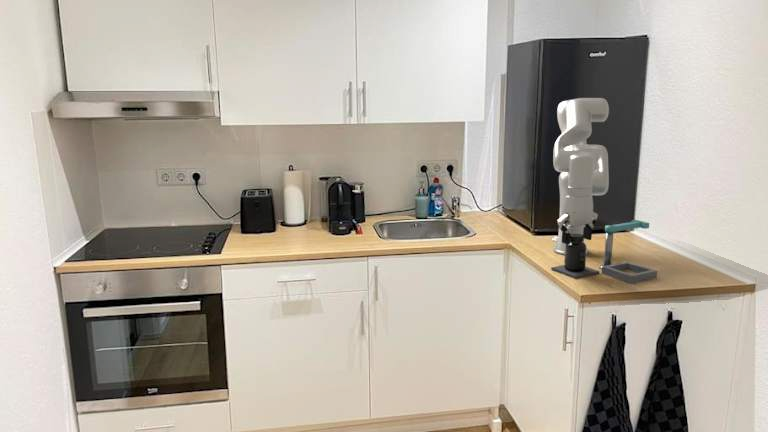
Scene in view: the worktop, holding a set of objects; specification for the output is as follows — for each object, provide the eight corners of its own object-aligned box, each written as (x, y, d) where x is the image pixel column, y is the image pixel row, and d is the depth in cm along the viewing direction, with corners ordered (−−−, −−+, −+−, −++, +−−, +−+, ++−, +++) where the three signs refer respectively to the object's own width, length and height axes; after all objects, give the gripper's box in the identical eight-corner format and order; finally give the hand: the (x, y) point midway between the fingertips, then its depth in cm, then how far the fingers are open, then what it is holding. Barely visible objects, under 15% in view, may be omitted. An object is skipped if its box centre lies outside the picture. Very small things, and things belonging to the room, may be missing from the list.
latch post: (596, 267, 196) (598, 231, 194) (606, 265, 199) (609, 229, 196) (607, 271, 192) (610, 234, 189) (618, 269, 194) (620, 233, 191)
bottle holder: (601, 273, 190) (602, 266, 189) (626, 268, 195) (627, 261, 195) (631, 283, 180) (632, 276, 179) (656, 277, 185) (657, 270, 184)
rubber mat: (551, 269, 195) (551, 267, 195) (574, 265, 200) (574, 262, 200) (575, 278, 185) (575, 276, 185) (599, 273, 190) (599, 271, 190)
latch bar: (613, 233, 189) (613, 228, 189) (599, 230, 194) (599, 225, 194) (648, 228, 196) (649, 223, 196) (634, 224, 202) (635, 219, 201)
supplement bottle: (580, 265, 196) (582, 232, 193) (588, 272, 189) (591, 237, 187) (560, 266, 196) (562, 232, 193) (568, 272, 189) (570, 237, 186)
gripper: (590, 187, 194) (586, 234, 198) (551, 192, 186) (549, 242, 191) (607, 190, 187) (603, 240, 192) (568, 196, 180) (565, 248, 184)
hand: (576, 241), depth 191 cm, fingers open, 9 cm apart
